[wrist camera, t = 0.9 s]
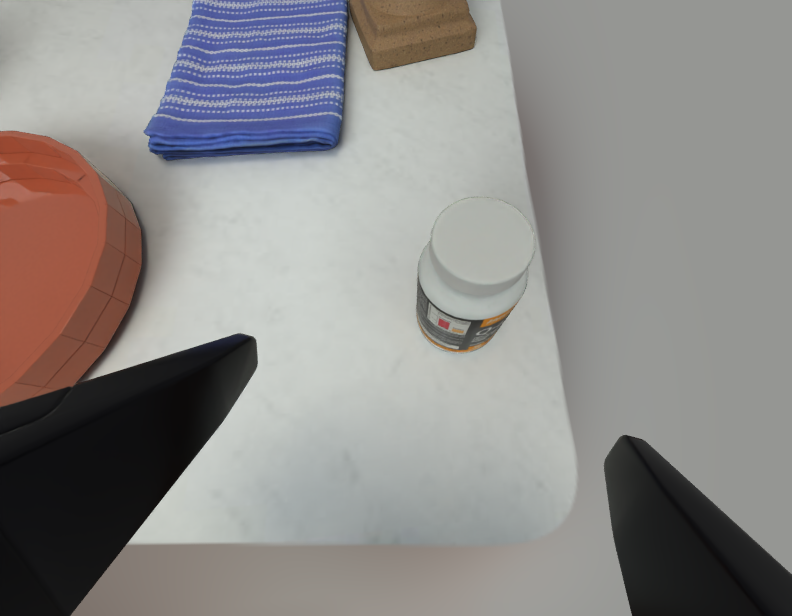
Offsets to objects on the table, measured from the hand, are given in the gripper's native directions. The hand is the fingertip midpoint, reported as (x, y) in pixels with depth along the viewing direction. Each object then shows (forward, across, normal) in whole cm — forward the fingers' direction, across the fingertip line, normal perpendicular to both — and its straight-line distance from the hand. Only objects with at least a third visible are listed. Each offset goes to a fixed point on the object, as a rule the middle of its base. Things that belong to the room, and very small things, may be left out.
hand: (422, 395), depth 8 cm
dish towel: (+32, +23, -8) cm, 40 cm away
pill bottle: (+16, -1, +6) cm, 17 cm away
